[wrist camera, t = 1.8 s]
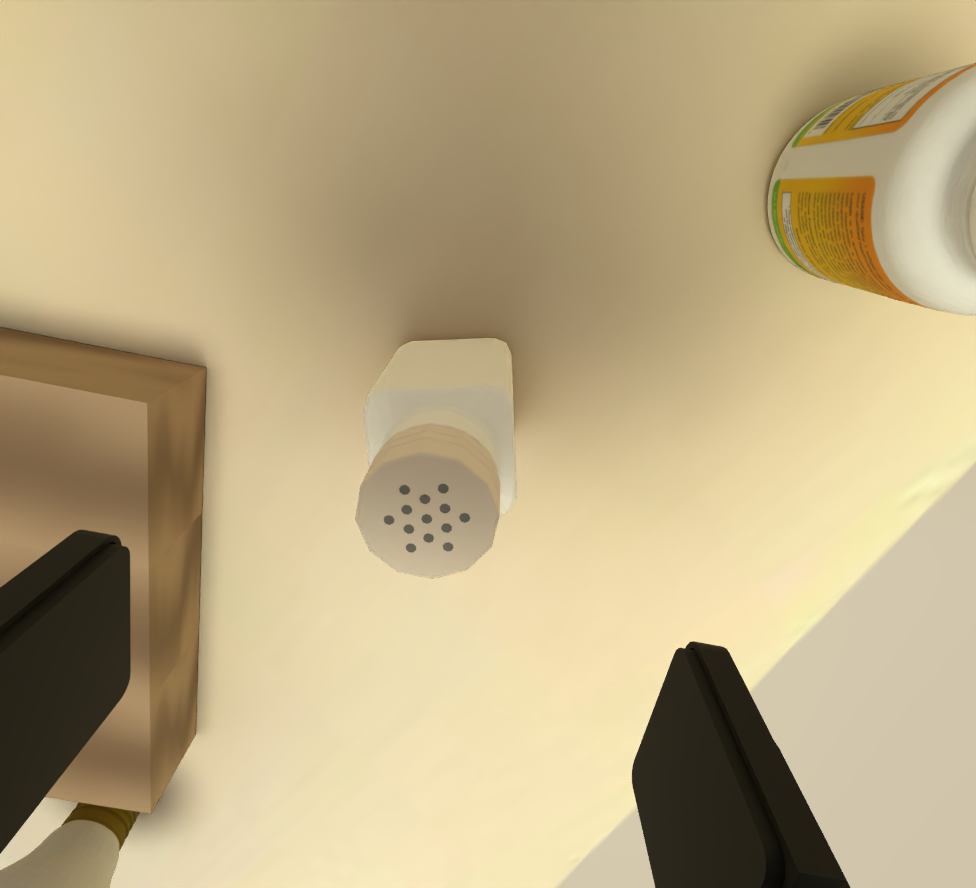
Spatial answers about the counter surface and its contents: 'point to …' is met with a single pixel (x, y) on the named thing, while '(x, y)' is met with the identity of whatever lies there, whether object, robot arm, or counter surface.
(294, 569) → the counter surface
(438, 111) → the counter surface
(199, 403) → the socket block
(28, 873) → the light bulb
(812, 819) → the robot arm
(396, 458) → the pepper shaker
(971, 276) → the supplement bottle
